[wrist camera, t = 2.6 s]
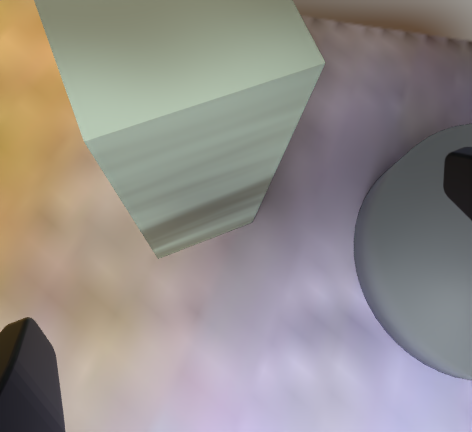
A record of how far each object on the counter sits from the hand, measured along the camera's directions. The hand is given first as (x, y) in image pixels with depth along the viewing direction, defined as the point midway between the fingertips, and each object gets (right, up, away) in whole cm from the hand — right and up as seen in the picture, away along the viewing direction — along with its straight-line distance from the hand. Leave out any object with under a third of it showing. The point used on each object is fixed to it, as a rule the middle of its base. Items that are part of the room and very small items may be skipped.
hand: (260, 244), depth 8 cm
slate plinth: (+11, -2, +13) cm, 17 cm away
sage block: (-3, +2, +13) cm, 13 cm away
